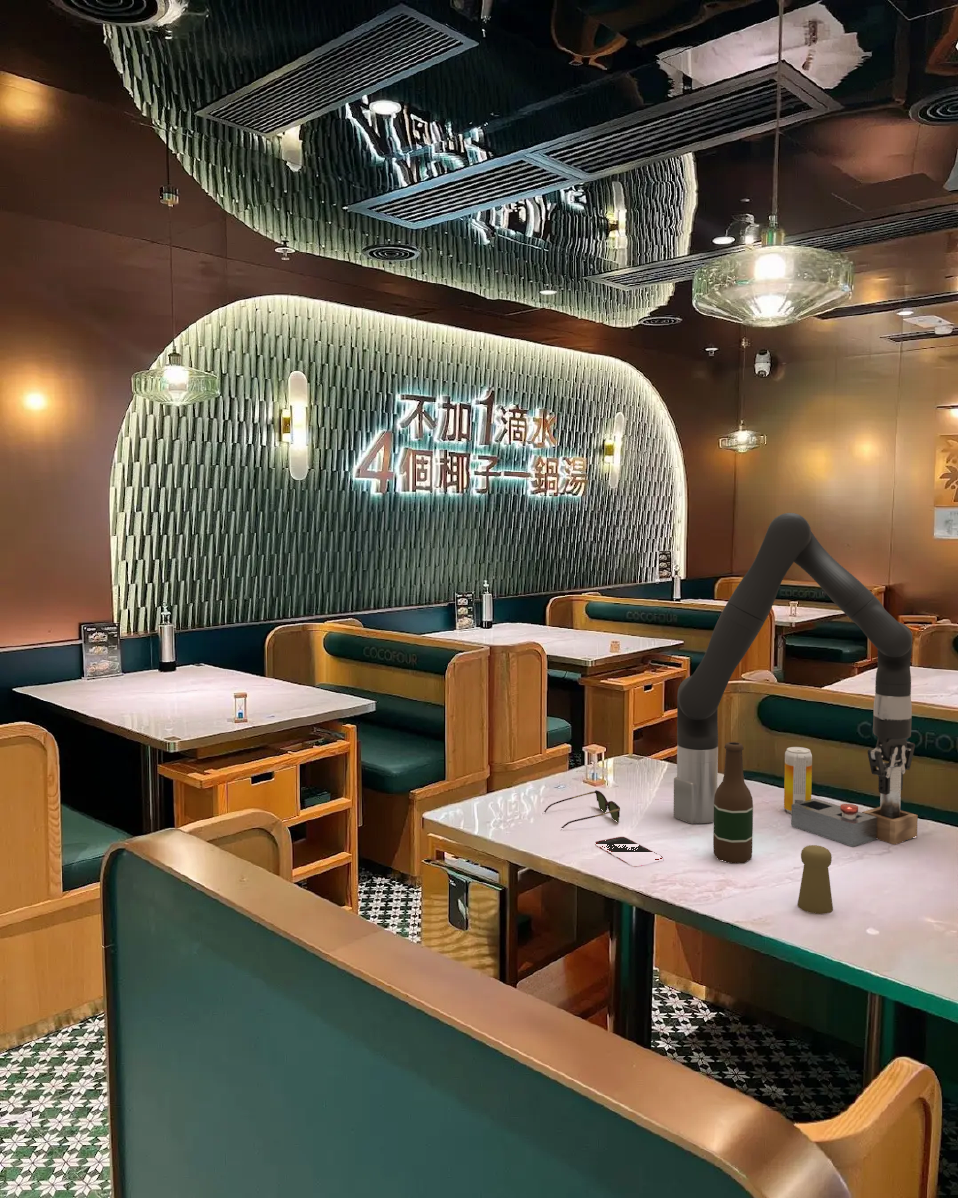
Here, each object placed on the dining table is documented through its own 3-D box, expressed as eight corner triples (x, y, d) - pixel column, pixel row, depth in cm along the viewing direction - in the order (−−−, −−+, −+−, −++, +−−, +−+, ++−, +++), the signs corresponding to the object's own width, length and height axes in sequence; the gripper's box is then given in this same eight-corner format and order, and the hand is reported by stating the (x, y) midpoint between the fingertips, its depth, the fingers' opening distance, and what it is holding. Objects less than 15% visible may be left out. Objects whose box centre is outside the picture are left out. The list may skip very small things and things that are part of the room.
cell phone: (623, 840, 201) (623, 835, 201) (665, 862, 187) (665, 857, 187) (593, 846, 197) (593, 841, 197) (634, 869, 184) (634, 864, 184)
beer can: (807, 807, 220) (808, 746, 219) (813, 816, 214) (815, 753, 213) (781, 807, 221) (782, 746, 219) (787, 815, 215) (788, 752, 213)
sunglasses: (621, 827, 209) (620, 806, 208) (560, 839, 205) (559, 817, 205) (597, 808, 223) (596, 788, 222) (540, 819, 219) (538, 798, 219)
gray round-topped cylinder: (892, 819, 197) (894, 769, 196) (876, 814, 201) (877, 765, 200) (903, 815, 199) (905, 766, 198) (887, 810, 203) (888, 762, 202)
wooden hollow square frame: (894, 844, 195) (895, 821, 194) (861, 834, 202) (862, 811, 201) (916, 837, 199) (917, 815, 199) (883, 827, 206) (884, 805, 205)
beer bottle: (753, 852, 191) (754, 740, 189) (751, 866, 184) (753, 749, 182) (714, 848, 194) (716, 737, 192) (711, 861, 186) (712, 746, 184)
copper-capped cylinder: (850, 837, 197) (851, 810, 196) (836, 832, 200) (836, 805, 199) (861, 834, 199) (861, 807, 198) (846, 829, 202) (847, 802, 201)
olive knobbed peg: (791, 900, 167) (792, 842, 166) (823, 899, 168) (825, 841, 167) (806, 914, 161) (807, 854, 160) (839, 913, 162) (840, 853, 161)
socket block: (852, 847, 194) (853, 824, 193) (791, 826, 207) (791, 804, 207) (876, 839, 198) (876, 817, 198) (814, 819, 212) (814, 798, 211)
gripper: (896, 707, 205) (894, 782, 206) (856, 715, 197) (854, 793, 199) (928, 713, 199) (925, 790, 200) (888, 721, 191) (886, 802, 193)
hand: (890, 791), depth 200 cm, fingers closed on gray round-topped cylinder, 4 cm apart
